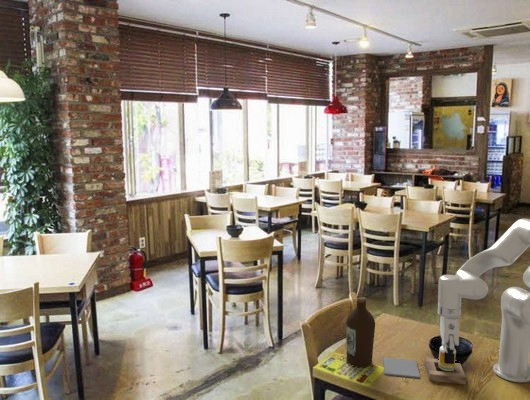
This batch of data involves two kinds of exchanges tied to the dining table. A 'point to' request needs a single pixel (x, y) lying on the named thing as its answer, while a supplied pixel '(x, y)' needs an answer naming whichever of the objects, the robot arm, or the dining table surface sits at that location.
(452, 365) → the supplement bottle
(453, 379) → the frame
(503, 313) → the robot arm
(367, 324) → the olive oil
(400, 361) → the slate coaster
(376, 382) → the dining table surface
